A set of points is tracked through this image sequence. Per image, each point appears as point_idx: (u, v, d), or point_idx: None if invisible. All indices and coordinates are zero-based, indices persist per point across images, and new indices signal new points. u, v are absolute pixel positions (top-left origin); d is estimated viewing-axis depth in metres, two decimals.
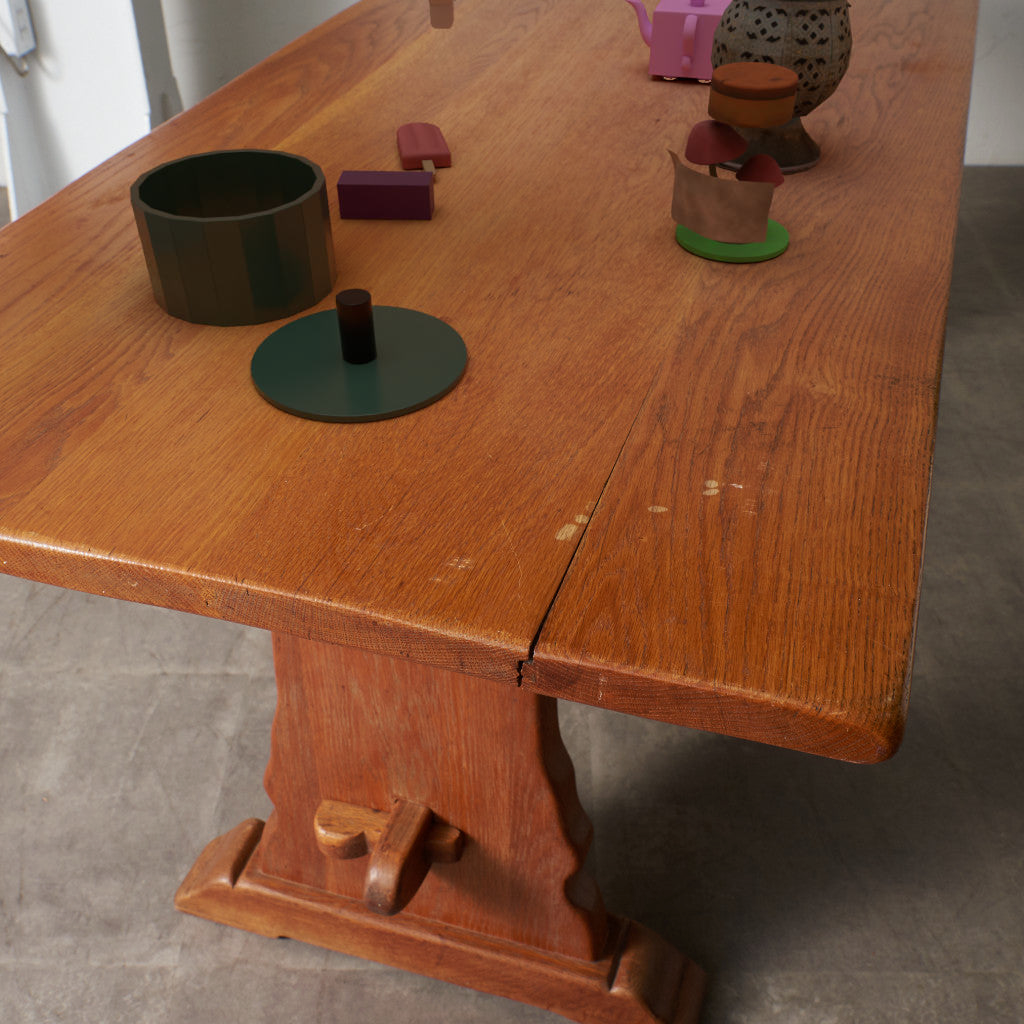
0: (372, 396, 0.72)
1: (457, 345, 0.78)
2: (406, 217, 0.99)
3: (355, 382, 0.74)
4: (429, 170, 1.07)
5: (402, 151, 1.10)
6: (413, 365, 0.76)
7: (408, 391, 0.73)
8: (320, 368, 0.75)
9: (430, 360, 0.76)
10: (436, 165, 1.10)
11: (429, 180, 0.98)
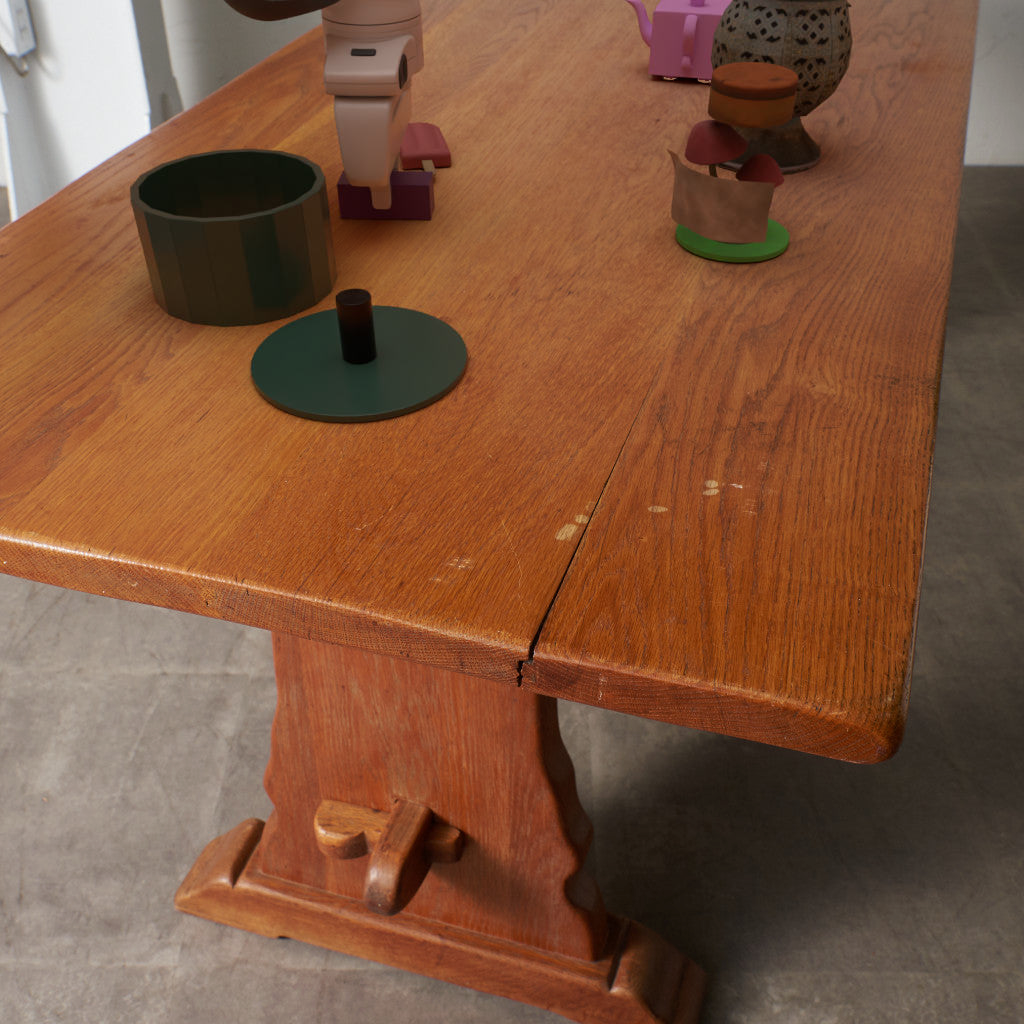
0: (372, 396, 0.72)
1: (457, 345, 0.78)
2: (406, 217, 0.99)
3: (355, 382, 0.74)
4: (429, 170, 1.07)
5: (402, 151, 1.10)
6: (413, 365, 0.76)
7: (408, 391, 0.73)
8: (320, 368, 0.75)
9: (430, 360, 0.76)
10: (436, 165, 1.10)
11: (429, 180, 0.98)
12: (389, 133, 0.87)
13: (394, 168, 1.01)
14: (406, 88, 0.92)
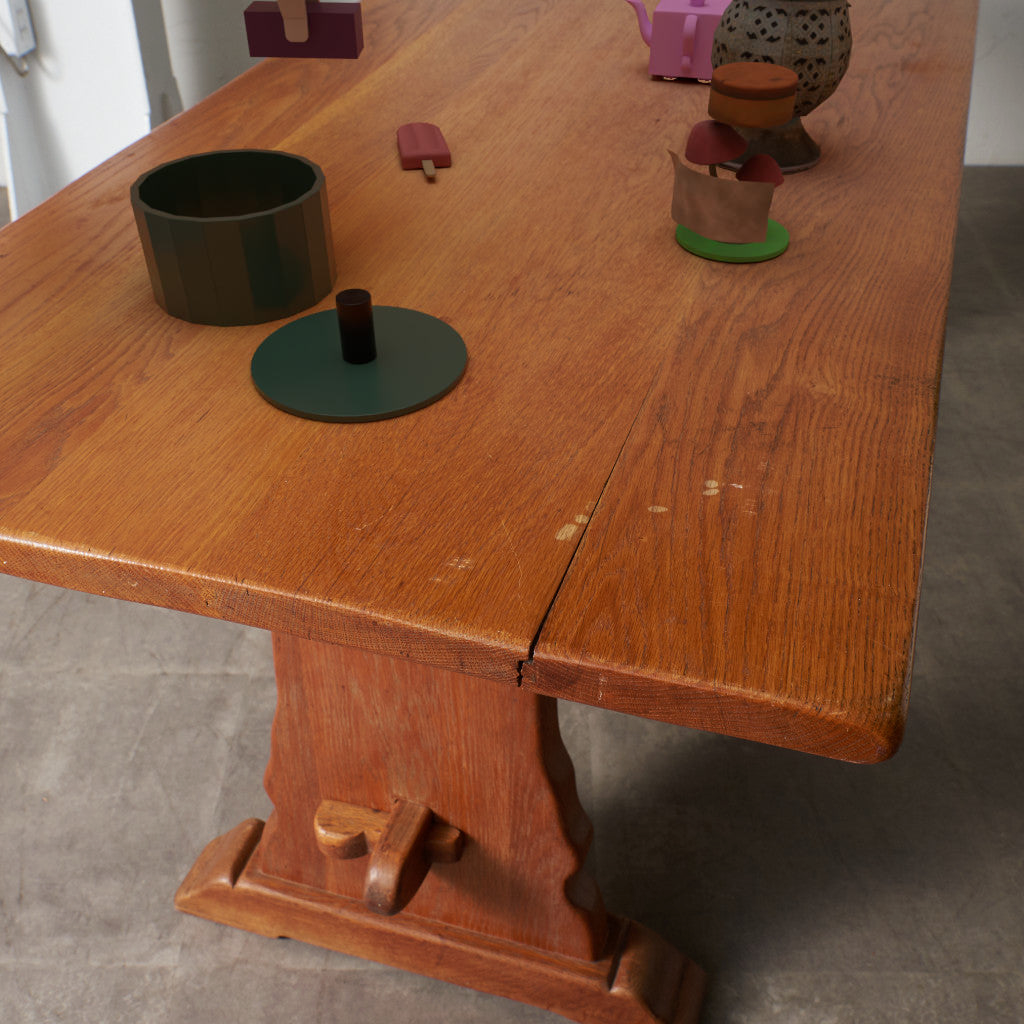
0: (372, 396, 0.72)
1: (457, 345, 0.78)
2: (328, 55, 0.83)
3: (355, 382, 0.74)
4: (429, 170, 1.07)
5: (402, 151, 1.10)
6: (413, 365, 0.76)
7: (408, 391, 0.73)
8: (320, 368, 0.75)
9: (430, 360, 0.76)
10: (436, 165, 1.10)
11: (355, 9, 0.82)
12: None
13: (314, 0, 0.85)
14: None
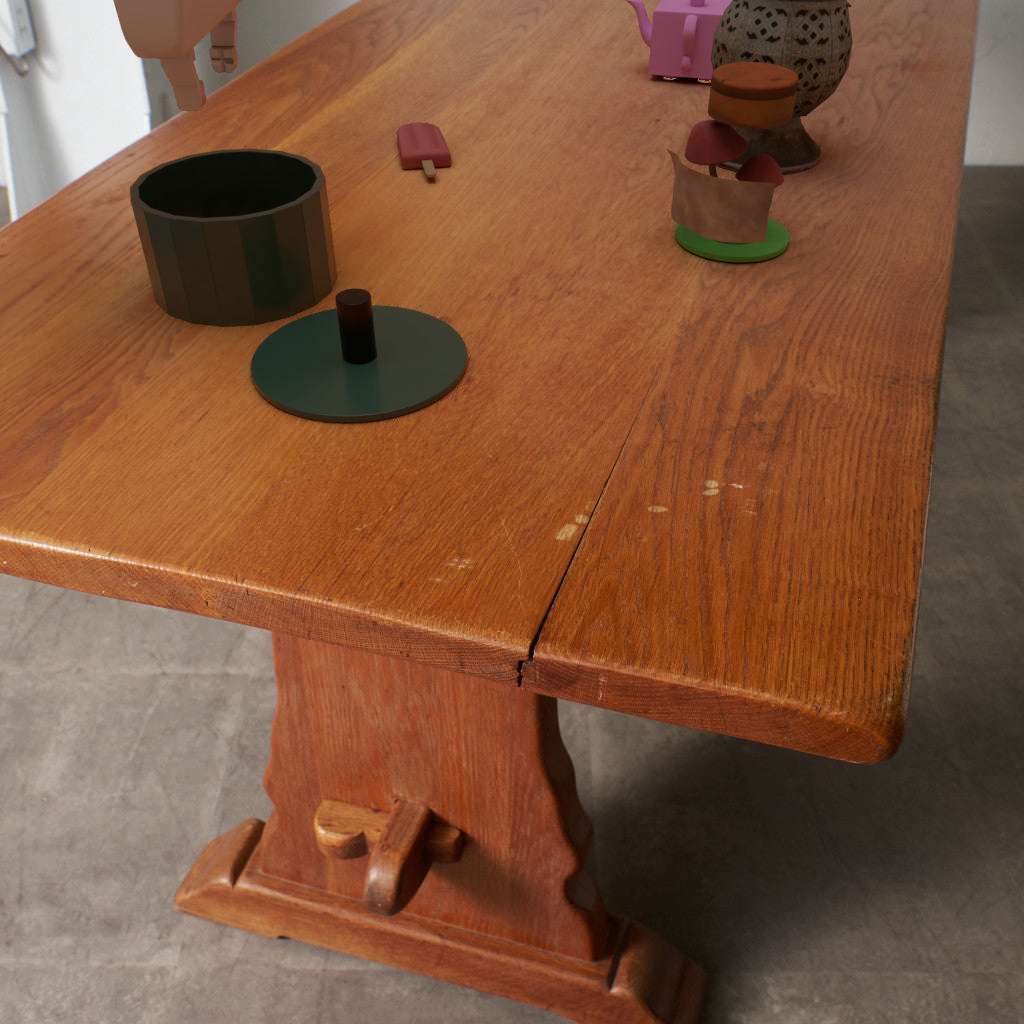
0: (372, 396, 0.72)
1: (457, 345, 0.78)
2: None
3: (355, 382, 0.74)
4: (429, 170, 1.07)
5: (402, 151, 1.10)
6: (413, 365, 0.76)
7: (408, 391, 0.73)
8: (320, 368, 0.75)
9: (430, 360, 0.76)
10: (436, 165, 1.10)
11: None
12: None
13: (229, 45, 0.80)
14: None
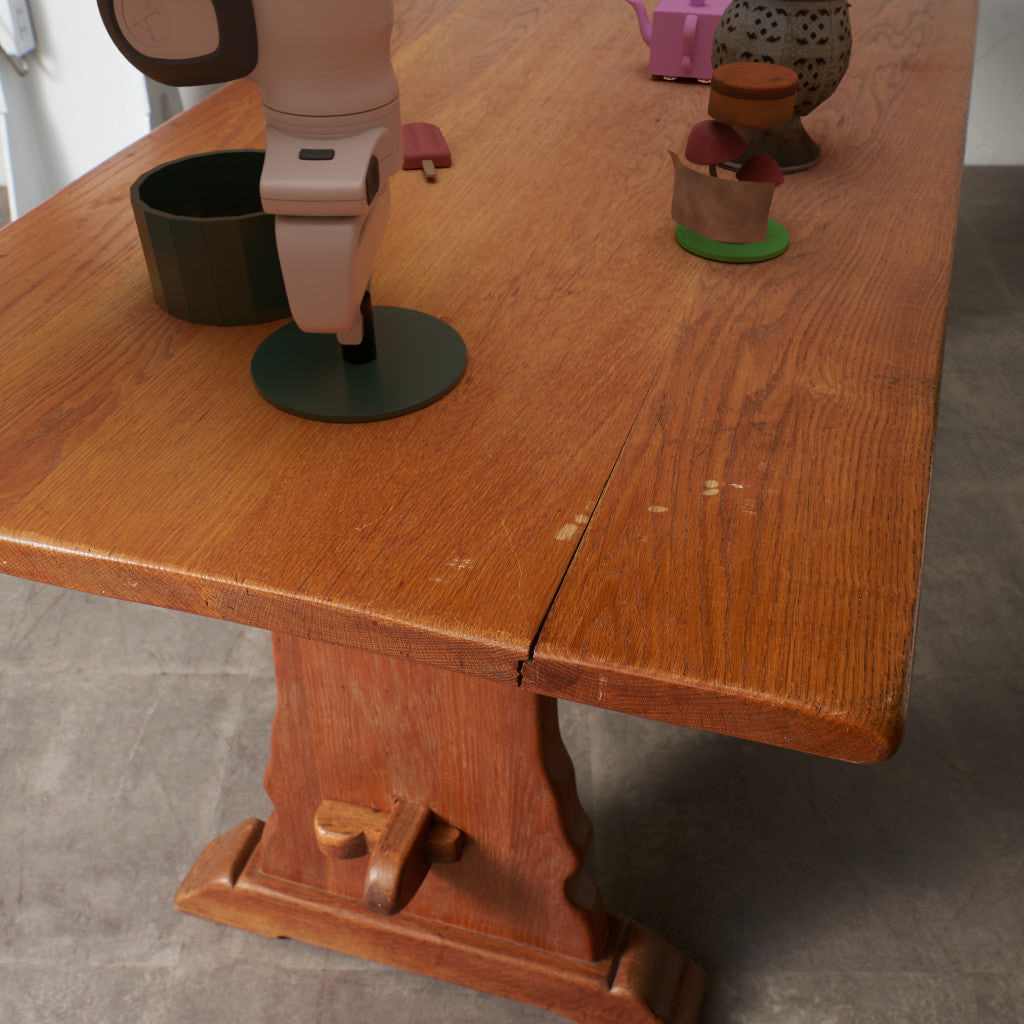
0: (372, 396, 0.72)
1: (457, 345, 0.78)
2: None
3: (355, 382, 0.74)
4: (429, 170, 1.07)
5: None
6: (413, 365, 0.76)
7: (408, 391, 0.73)
8: (320, 368, 0.75)
9: (430, 360, 0.76)
10: (436, 165, 1.10)
11: None
12: (353, 266, 0.62)
13: None
14: (379, 194, 0.67)
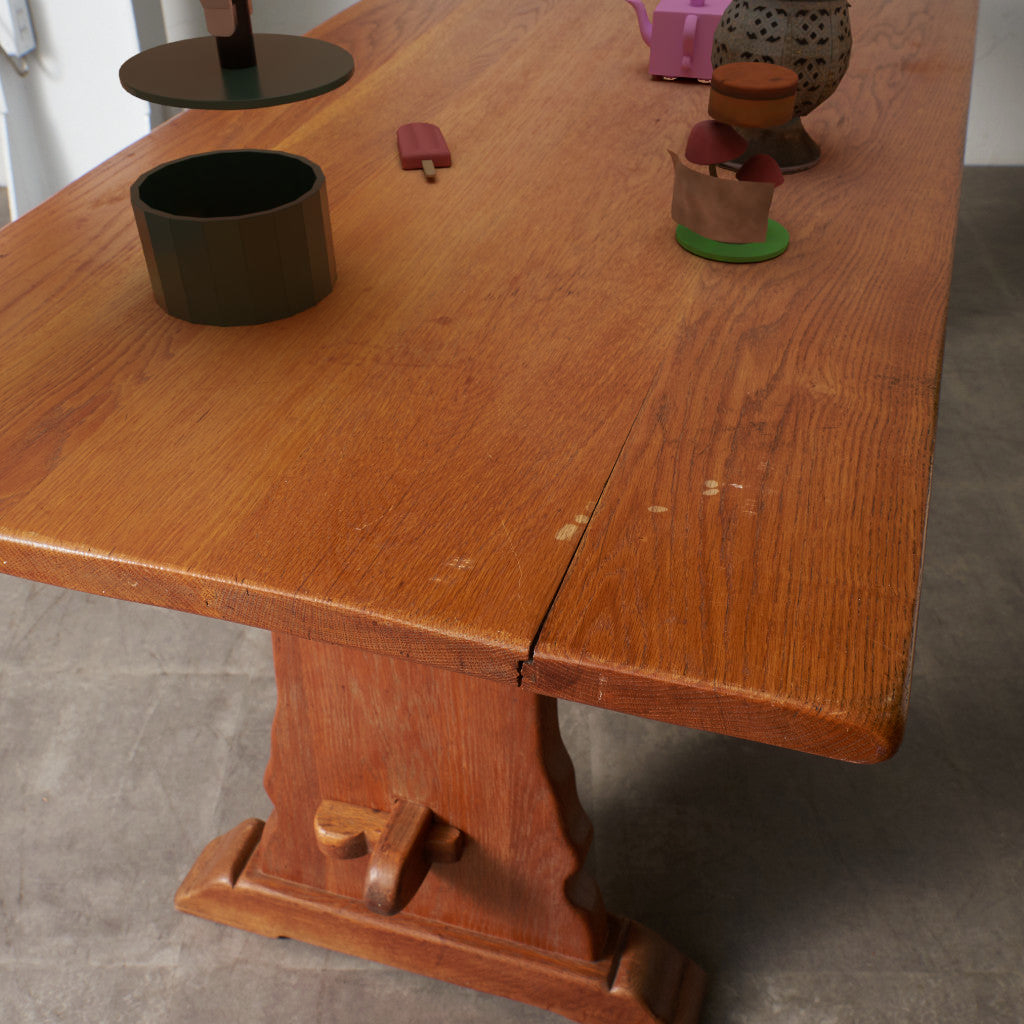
0: (243, 89, 0.68)
1: (344, 59, 0.73)
2: None
3: (228, 80, 0.69)
4: (429, 170, 1.07)
5: (402, 151, 1.10)
6: (293, 70, 0.71)
7: (283, 86, 0.68)
8: (193, 71, 0.70)
9: (313, 68, 0.71)
10: (436, 165, 1.10)
11: None
12: None
13: None
14: None
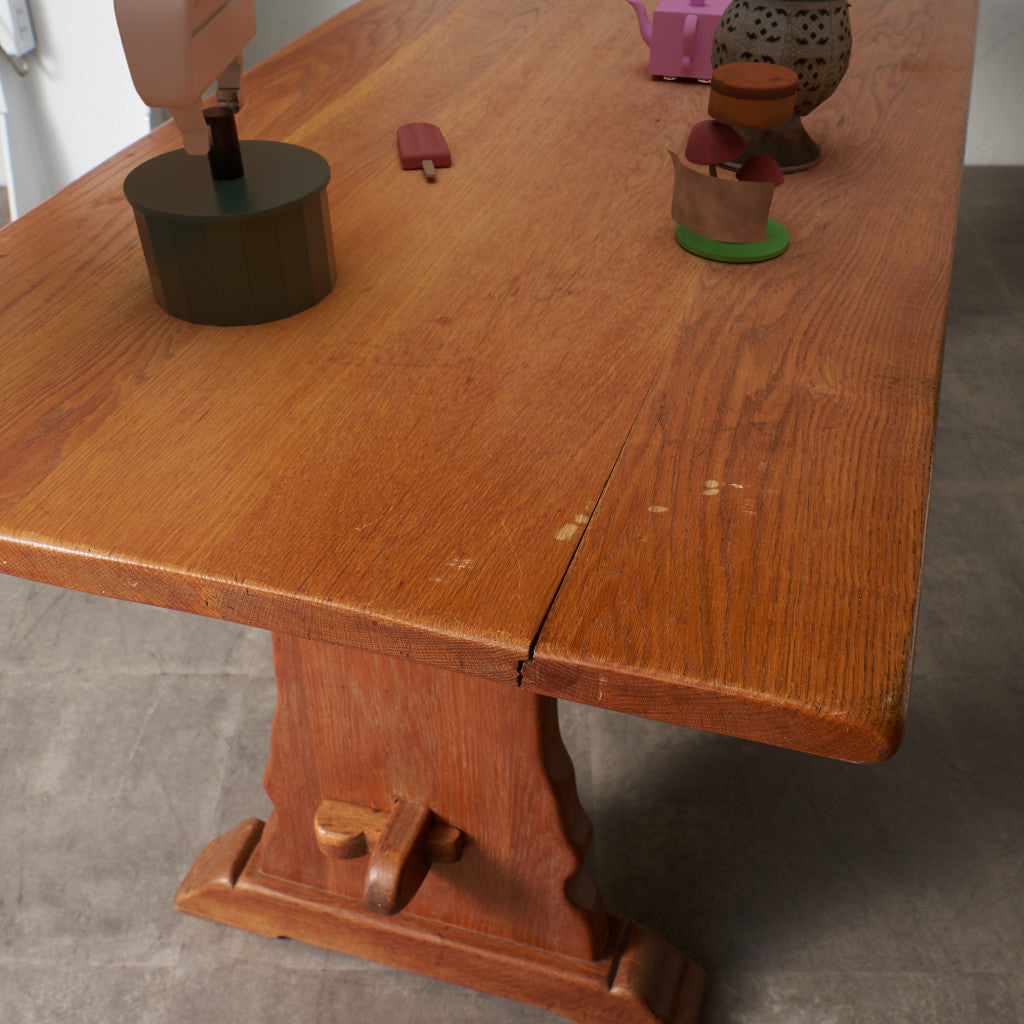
0: (232, 202, 0.77)
1: (322, 167, 0.83)
2: None
3: (219, 193, 0.79)
4: (429, 170, 1.07)
5: (402, 151, 1.10)
6: (276, 181, 0.81)
7: (267, 199, 0.78)
8: (188, 183, 0.80)
9: (293, 177, 0.81)
10: (436, 165, 1.10)
11: None
12: (188, 35, 0.66)
13: (235, 87, 0.82)
14: None
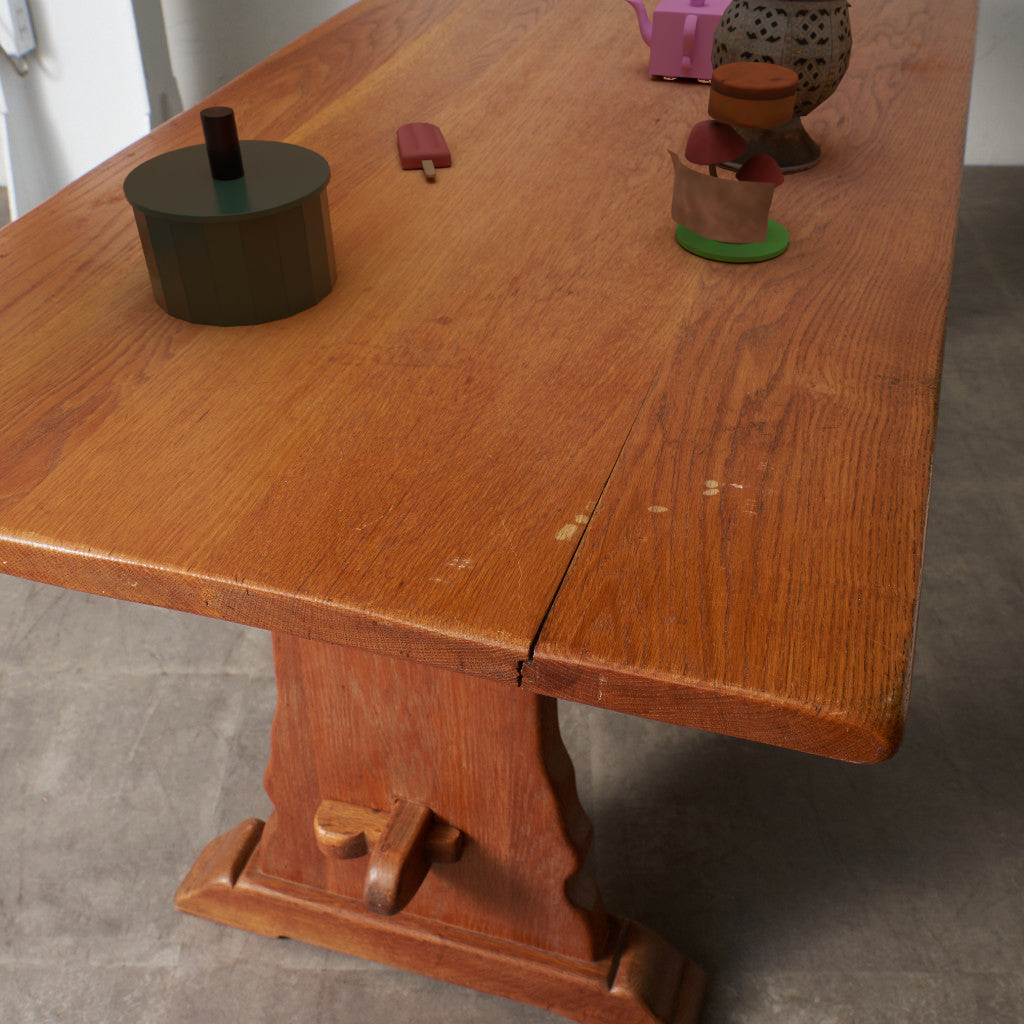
0: (232, 202, 0.77)
1: (322, 167, 0.83)
2: None
3: (219, 193, 0.79)
4: (429, 170, 1.07)
5: (402, 151, 1.10)
6: (276, 181, 0.81)
7: (267, 199, 0.78)
8: (188, 183, 0.80)
9: (293, 177, 0.81)
10: (436, 165, 1.10)
11: None
12: None
13: None
14: None
